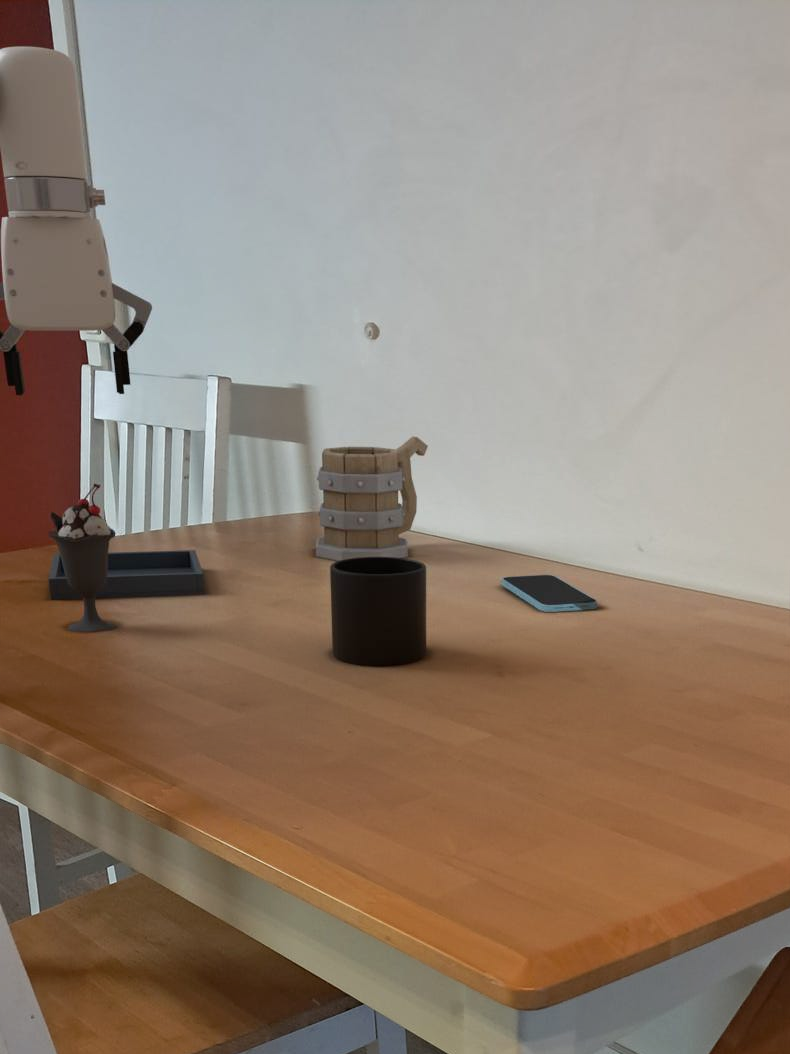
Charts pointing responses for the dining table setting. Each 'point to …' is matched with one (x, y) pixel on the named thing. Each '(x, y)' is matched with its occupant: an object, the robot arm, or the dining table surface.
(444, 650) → the dining table surface
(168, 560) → the tray
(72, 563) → the sundae
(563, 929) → the dining table surface
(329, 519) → the tankard
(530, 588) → the smartphone
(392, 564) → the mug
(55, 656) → the dining table surface
